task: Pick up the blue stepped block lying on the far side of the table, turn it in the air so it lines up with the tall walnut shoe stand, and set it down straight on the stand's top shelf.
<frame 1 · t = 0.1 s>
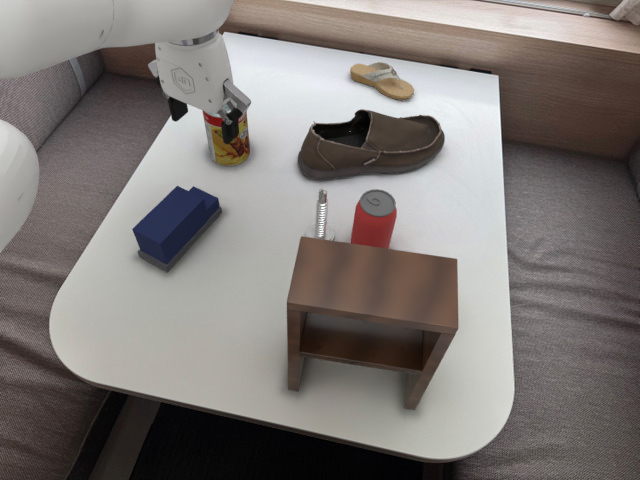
hand: (205, 127, 80), 18 cm above the table, tool pointing down, fingers open, 9 cm apart
beer can: (368, 249, 90), on the table
blue stepped block: (182, 234, 90), on the table
canned food: (230, 153, 103), on the table
shoe stand: (354, 370, 76), on the table
loafer: (372, 161, 103), on the table
sandal: (380, 86, 118), on the table
screw: (319, 241, 90), on the table
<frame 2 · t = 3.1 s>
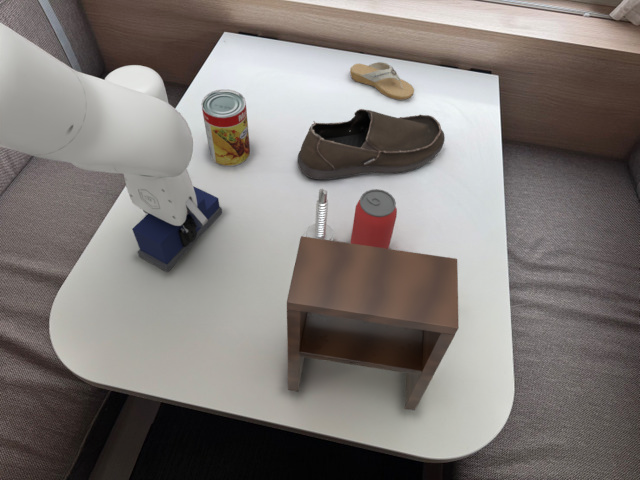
hand: (174, 232, 87), 2 cm above the table, tool pointing down, fingers closed on blue stepped block, 5 cm apart
blue stepped block: (182, 234, 90), on the table, touching gripper
everything else where it was.
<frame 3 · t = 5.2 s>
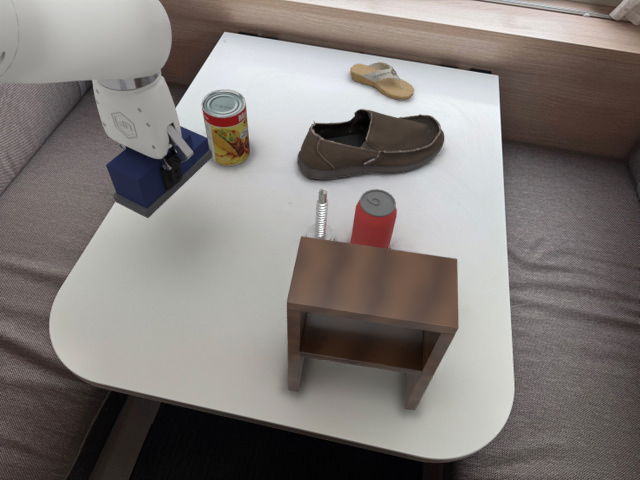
hand: (156, 174, 76), 16 cm above the table, tool pointing down, fingers closed on blue stepped block, 5 cm apart
blue stepped block: (166, 178, 78), point 14 cm above the table, touching gripper
everything else where it was.
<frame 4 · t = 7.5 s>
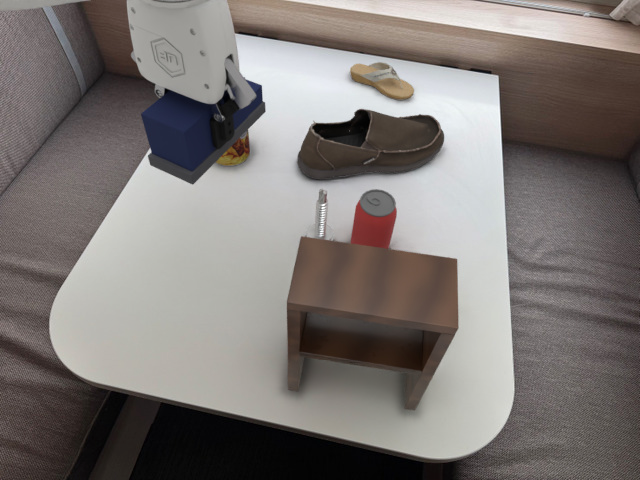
hand: (201, 130, 60), 31 cm above the table, tool pointing down, fingers closed on blue stepped block, 5 cm apart
blue stepped block: (211, 137, 62), point 29 cm above the table, touching gripper
everything else where it was.
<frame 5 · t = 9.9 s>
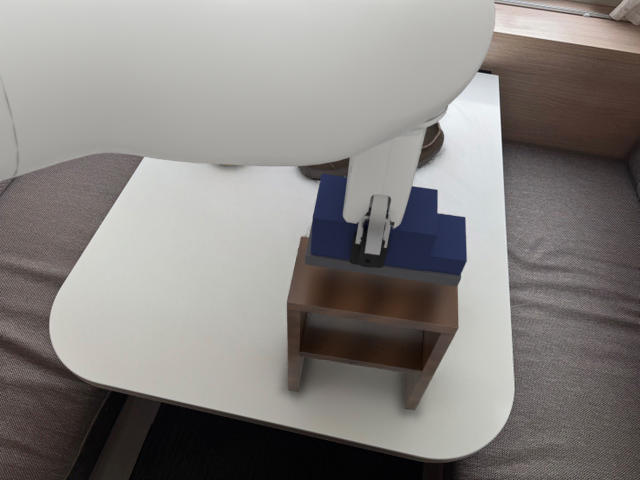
hand: (369, 236, 51), 31 cm above the table, tool pointing down, fingers closed on blue stepped block, 5 cm apart
blue stepped block: (382, 251, 53), point 29 cm above the table, touching gripper
everything else where it was.
when the fingers open (26 cm above the table, at t = 11.7 s): blue stepped block stays where it is, resting on shoe stand.
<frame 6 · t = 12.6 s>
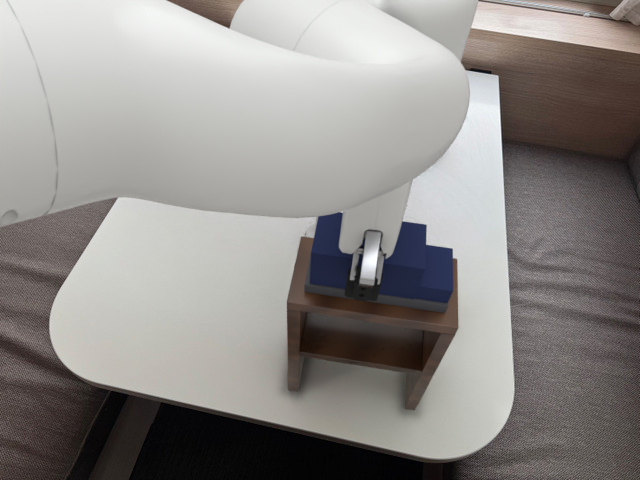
hand: (365, 256, 54), 28 cm above the table, tool pointing down, fingers open, 9 cm apart
blue stepped block: (376, 279, 57), point 24 cm above the table, touching shoe stand
everything else where it was.
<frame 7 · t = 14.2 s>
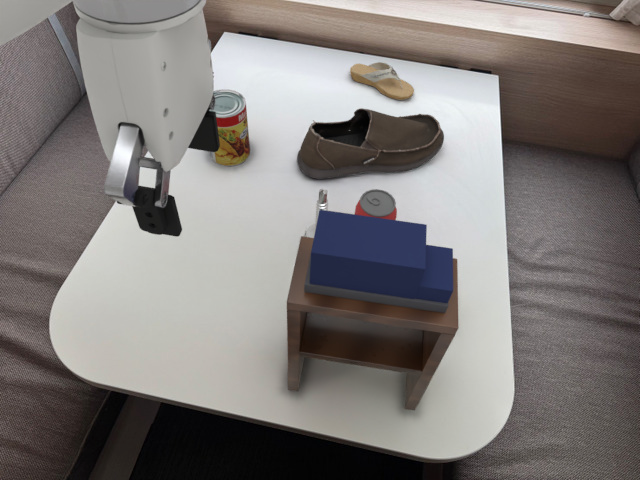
hand: (183, 186, 43), 40 cm above the table, tool pointing down, fingers open, 9 cm apart
nothing on the table moved.
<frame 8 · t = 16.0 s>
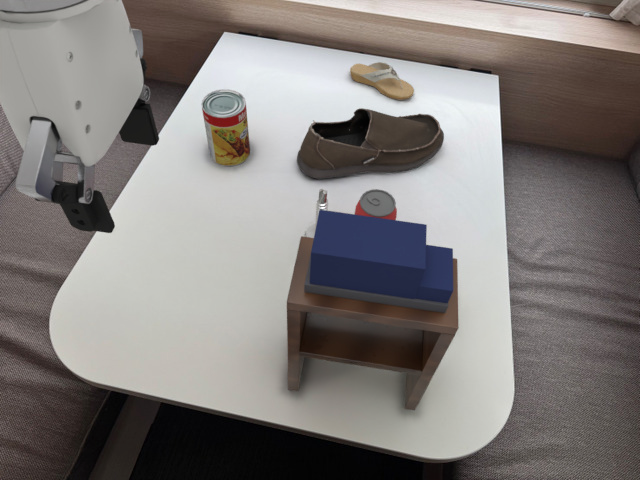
hand: (119, 181, 42), 40 cm above the table, tool pointing down, fingers open, 9 cm apart
nothing on the table moved.
at the end: blue stepped block inside the target area on the shoe stand (0.1 cm from its centre), point 24.0 cm above the shoe stand's base; blue stepped block tilted 0°; the gripper is holding nothing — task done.
